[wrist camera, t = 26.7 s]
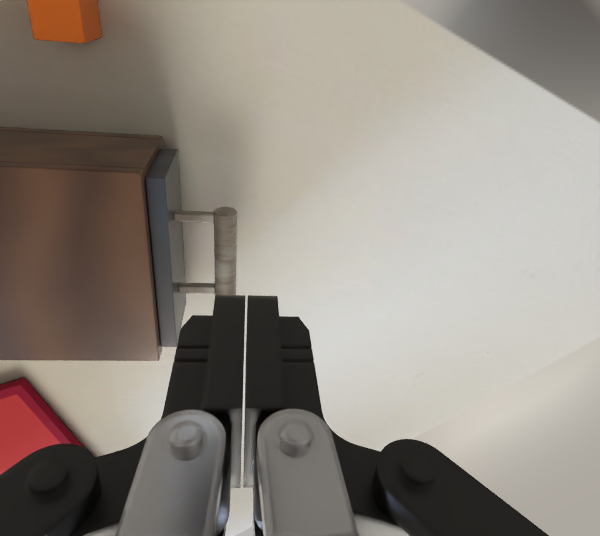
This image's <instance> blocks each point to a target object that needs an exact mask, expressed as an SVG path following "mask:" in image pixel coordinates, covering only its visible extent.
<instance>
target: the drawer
mask: <svg viewBox="0 0 600 536" xmlns="http://www.w3.org/2000/svg"><path fill="white" fill-rule="evenodd" d="M145 182H146V193H147V204H148V214H149V225H150V236H151V247H152V257H153V268H154V279H155V289H156V300H157V311H158V322H159V332H160V343H161V347H177V344H178V339H179V334H180V329H181V325H182V320H183V315H184V310H185V305H186V293H215V295H236V256H237V211H236V210H235V209H233V208H230V207H220V208H217V209H215V210H214V212H199V211H181V194H180V175H179V156H178V149H164V148H161V150H160V151H159V153H158V155H157V157H156V159H155V160H154V162H153V164H152V166H151V168H150V170H149V171H148V173H147V175H146V177H145ZM182 222H208V223H213V222H214V254H215V283H185V269H184V251H183V232H182Z"/></svg>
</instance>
